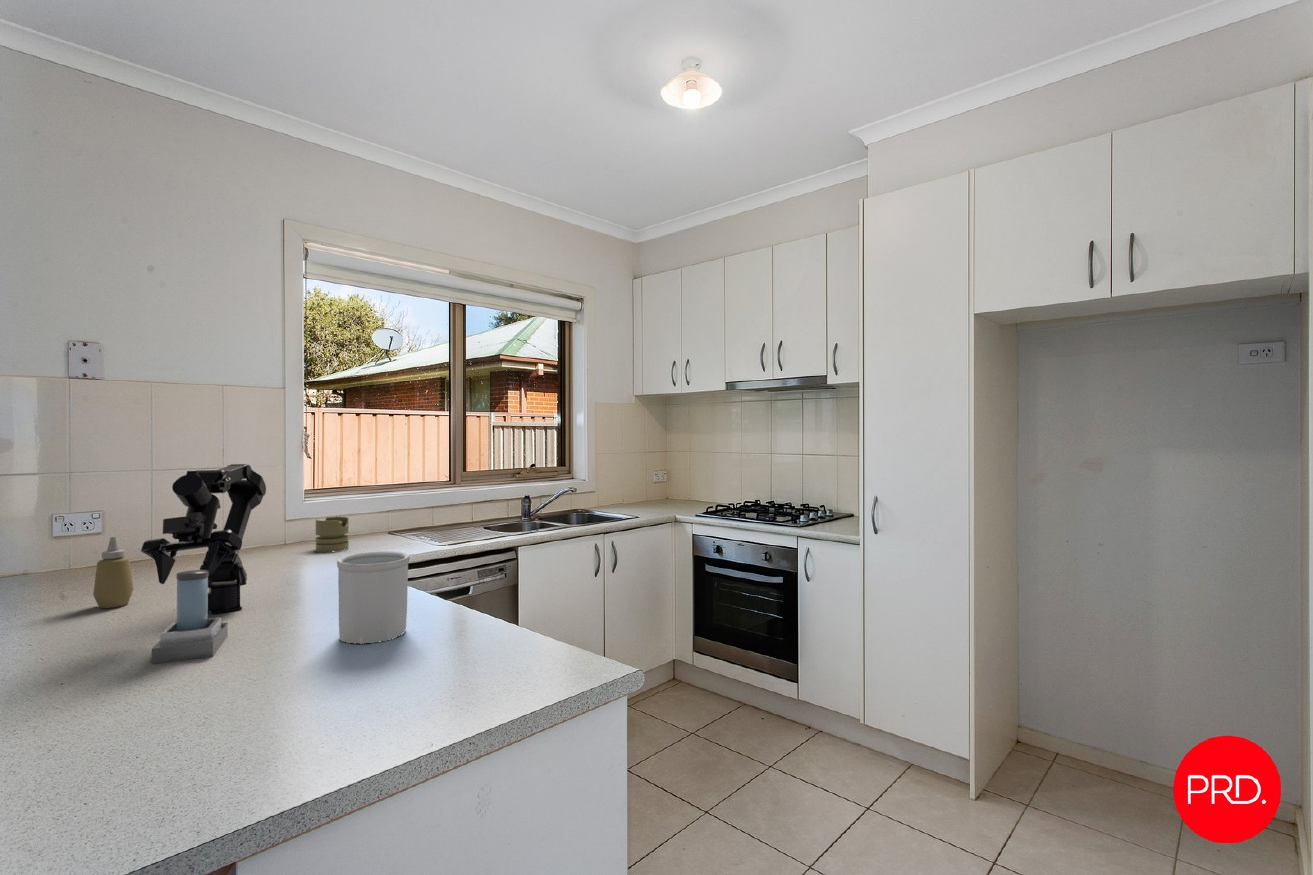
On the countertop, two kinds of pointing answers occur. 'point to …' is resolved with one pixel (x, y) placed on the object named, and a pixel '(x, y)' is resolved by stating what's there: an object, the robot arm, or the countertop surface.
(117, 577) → the squeeze bottle
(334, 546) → the piston
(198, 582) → the capped blue cylinder
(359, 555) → the utensil holder
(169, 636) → the gray rectangular open-top holder
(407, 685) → the countertop surface
